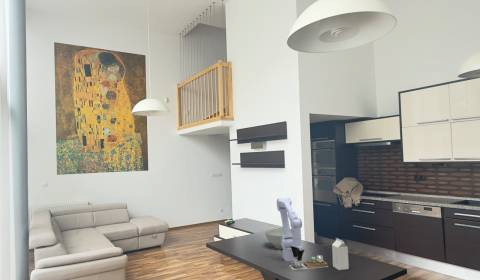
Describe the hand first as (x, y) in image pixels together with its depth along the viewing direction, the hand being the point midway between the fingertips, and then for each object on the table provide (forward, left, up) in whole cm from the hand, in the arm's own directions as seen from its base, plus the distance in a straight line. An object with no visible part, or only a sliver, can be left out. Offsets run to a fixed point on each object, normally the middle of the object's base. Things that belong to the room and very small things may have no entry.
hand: (297, 258), depth 202 cm
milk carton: (+8, +26, -7) cm, 28 cm away
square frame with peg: (-6, +14, -6) cm, 17 cm away
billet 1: (0, 0, -6) cm, 6 cm away
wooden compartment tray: (+1, +12, -6) cm, 14 cm away
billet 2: (+1, +15, -5) cm, 16 cm away
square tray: (0, 0, -6) cm, 6 cm away
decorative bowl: (-53, +7, -7) cm, 53 cm away
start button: (-6, +14, -5) cm, 16 cm away
